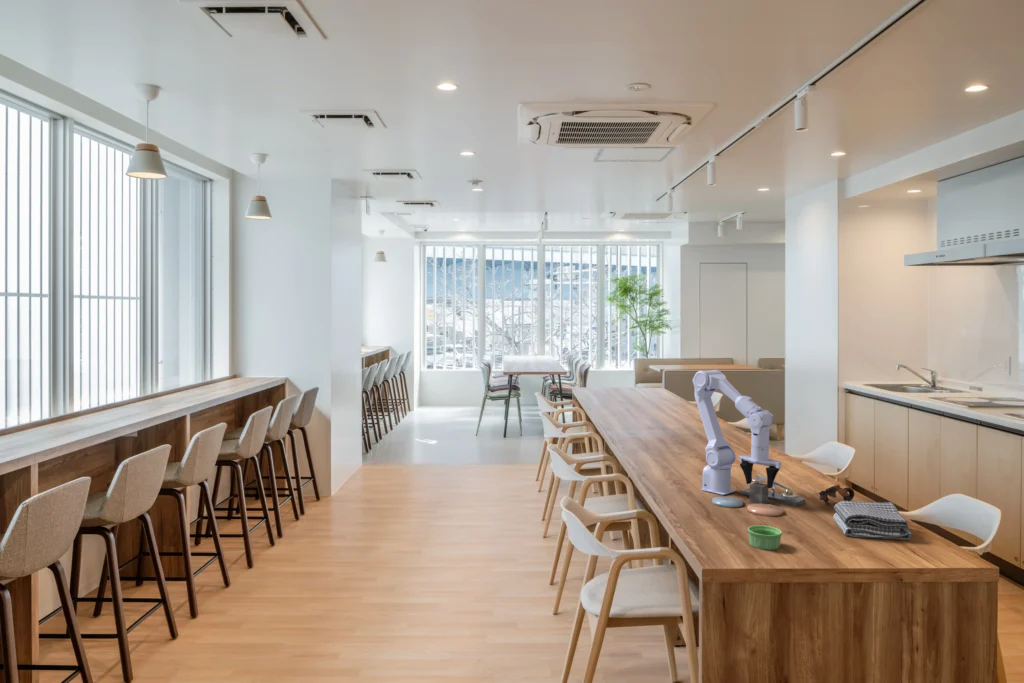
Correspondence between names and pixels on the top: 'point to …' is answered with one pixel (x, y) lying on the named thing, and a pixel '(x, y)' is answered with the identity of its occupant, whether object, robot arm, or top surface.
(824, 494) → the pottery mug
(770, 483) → the robot arm
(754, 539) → the ramekin
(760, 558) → the top surface
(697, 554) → the top surface
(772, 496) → the balance
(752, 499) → the block
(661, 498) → the top surface
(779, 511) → the dish
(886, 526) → the towel
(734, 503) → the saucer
